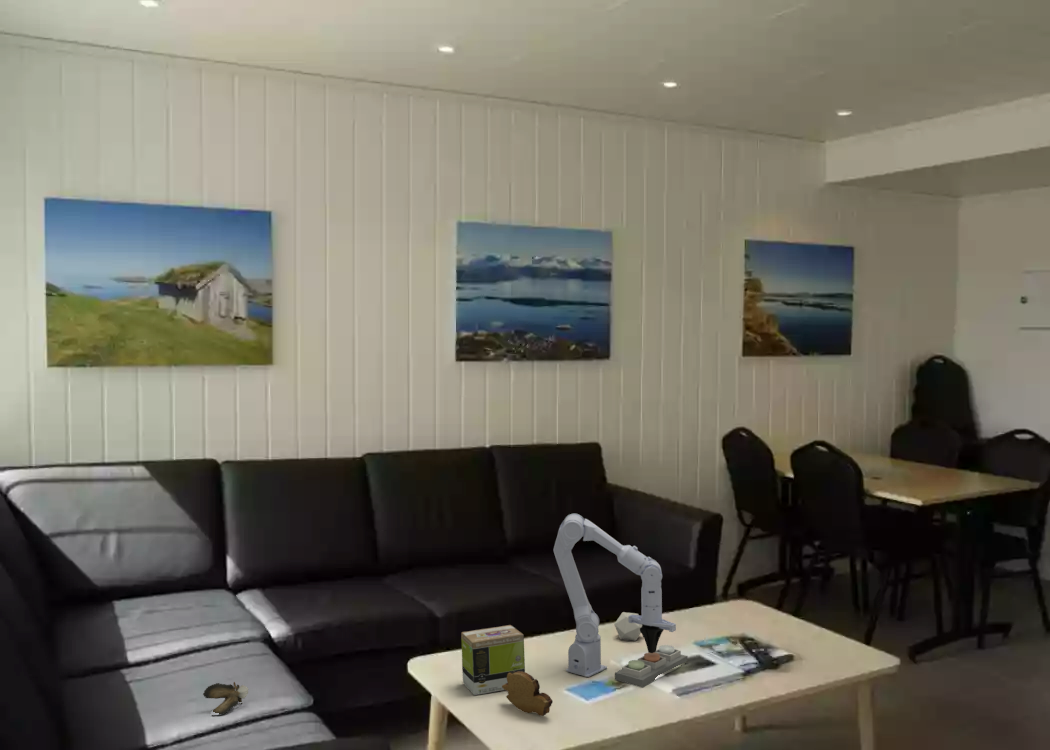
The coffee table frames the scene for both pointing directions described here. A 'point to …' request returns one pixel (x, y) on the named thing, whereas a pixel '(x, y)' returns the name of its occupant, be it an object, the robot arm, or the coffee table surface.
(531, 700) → the wooden carving
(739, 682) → the coffee table surface
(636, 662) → the sage button
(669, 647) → the blue-grey button
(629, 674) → the button panel
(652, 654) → the terracotta button
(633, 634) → the die
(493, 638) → the tea box
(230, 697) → the eagle figurine
